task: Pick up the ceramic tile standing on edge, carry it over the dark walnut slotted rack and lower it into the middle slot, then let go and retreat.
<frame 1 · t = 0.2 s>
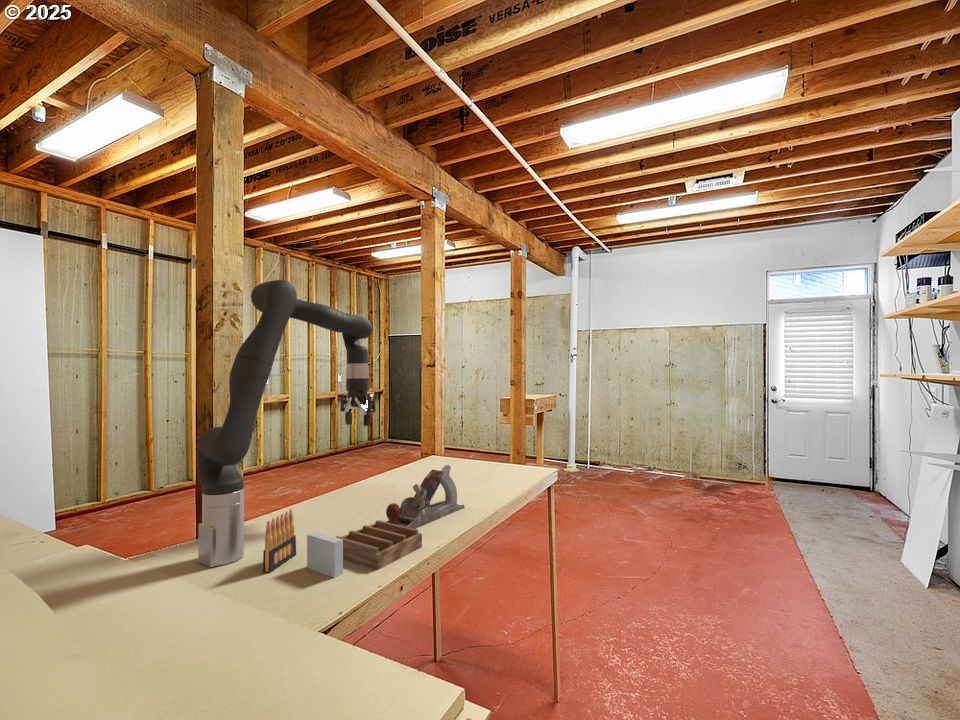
hand: (357, 425, 153), 29 cm above the table, fingers open, 8 cm apart
hand plane: (423, 519, 144), on the table
tile: (324, 571, 107), on the table
ammunition clip: (280, 564, 112), on the table
rack: (377, 550, 119), on the table
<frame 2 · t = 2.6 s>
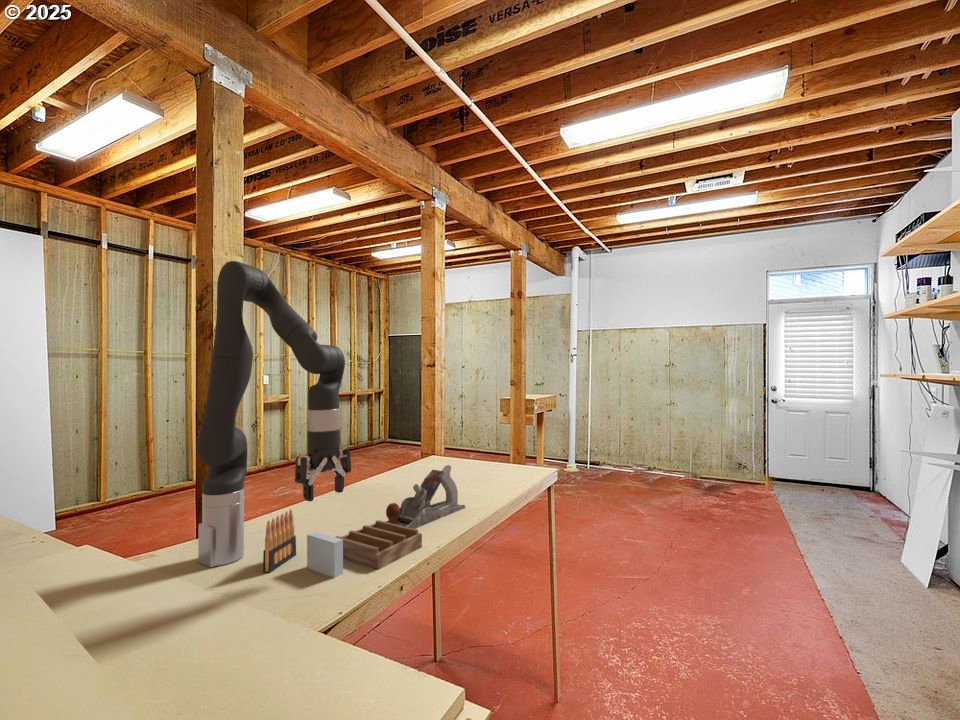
hand: (324, 496, 108), 18 cm above the table, fingers open, 8 cm apart
nothing on the table moved.
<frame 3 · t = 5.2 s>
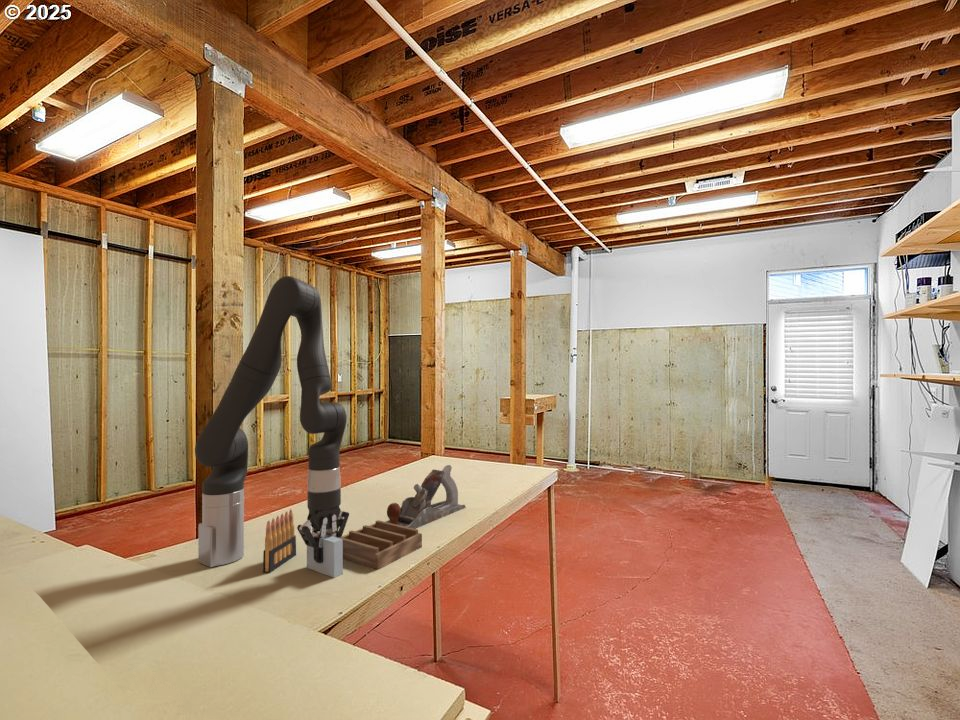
hand: (324, 559, 107), 3 cm above the table, fingers closed on tile, 2 cm apart
tile: (324, 570, 107), on the table, touching gripper
everything else where it was.
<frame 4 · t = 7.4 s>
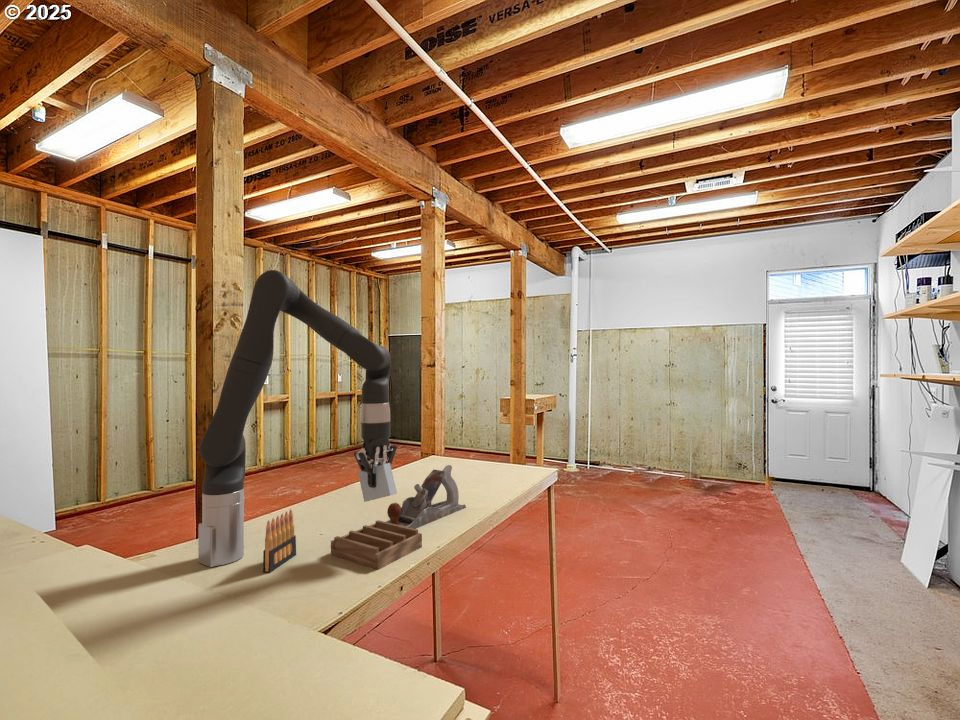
hand: (376, 485, 119), 17 cm above the table, fingers closed on tile
tile: (380, 497, 118), point 14 cm above the table, tilted 18°, touching gripper
everything else where it was.
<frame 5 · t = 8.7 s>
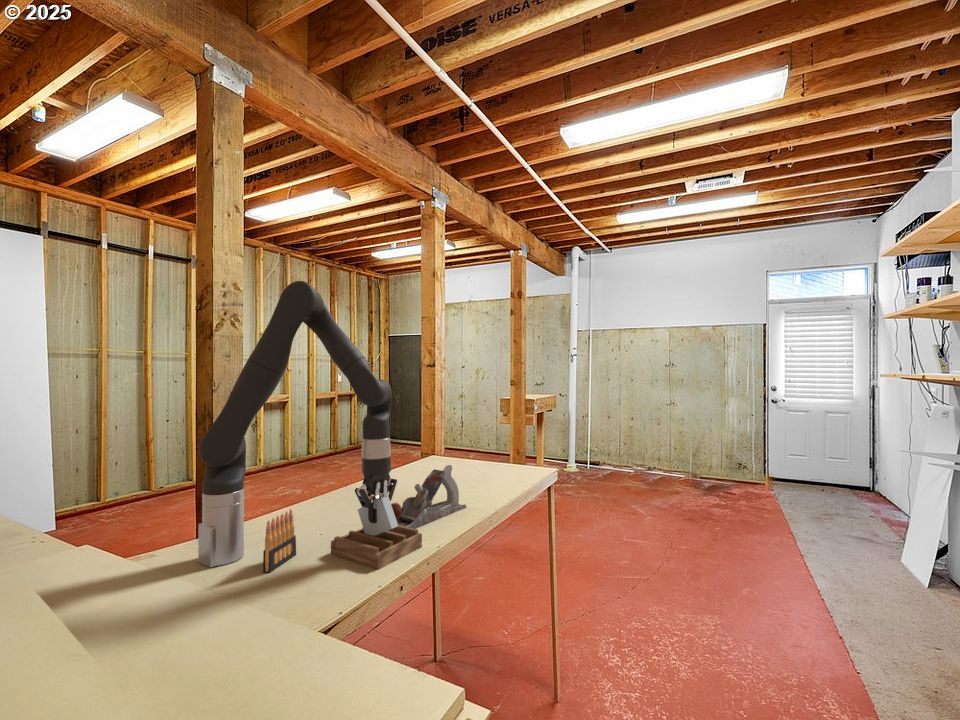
hand: (377, 520, 119), 8 cm above the table, fingers closed on tile
tile: (382, 532, 118), point 5 cm above the table, tilted 25°, touching gripper
everything else where it was.
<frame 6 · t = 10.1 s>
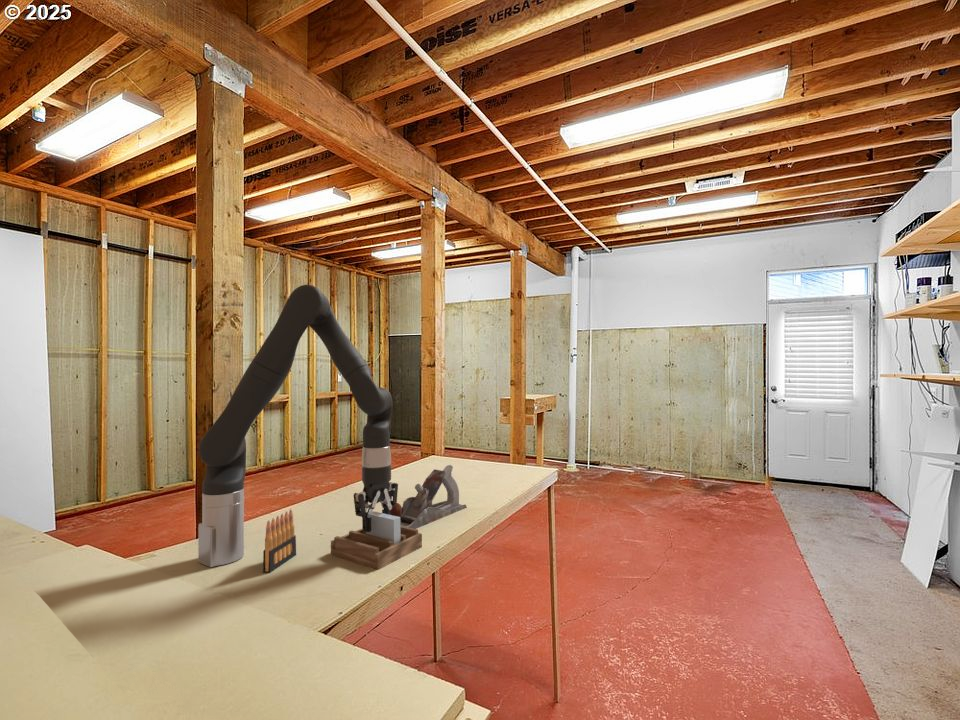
hand: (377, 527, 119), 6 cm above the table, fingers open, 6 cm apart
tile: (383, 546, 118), point 1 cm above the table, touching rack
everything else where it was.
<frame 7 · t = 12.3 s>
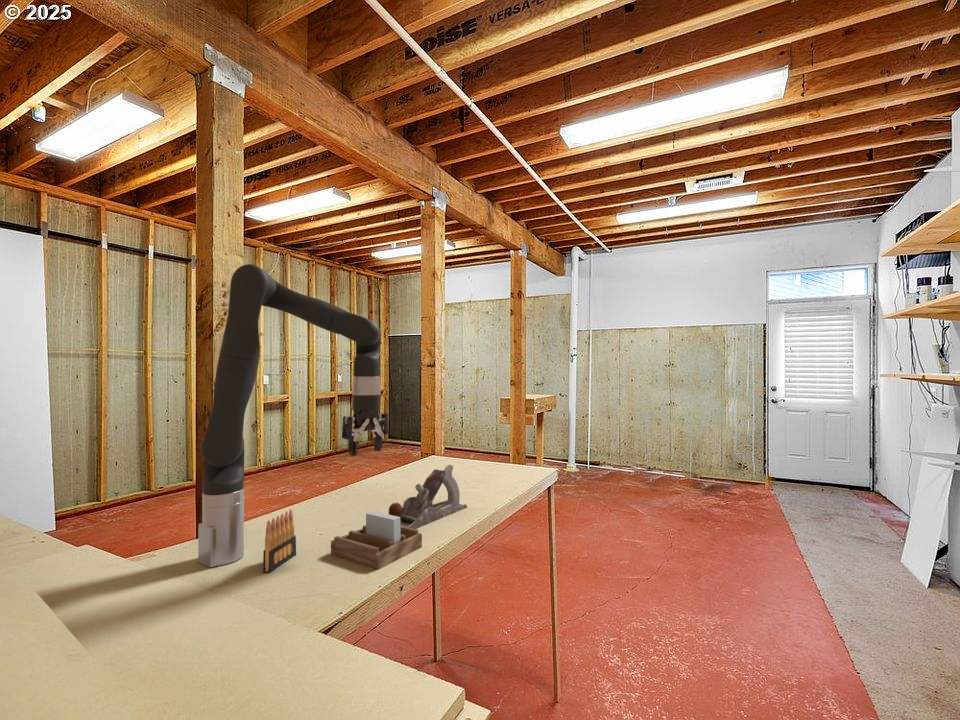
hand: (365, 453, 123), 25 cm above the table, fingers open, 8 cm apart
nothing on the table moved.
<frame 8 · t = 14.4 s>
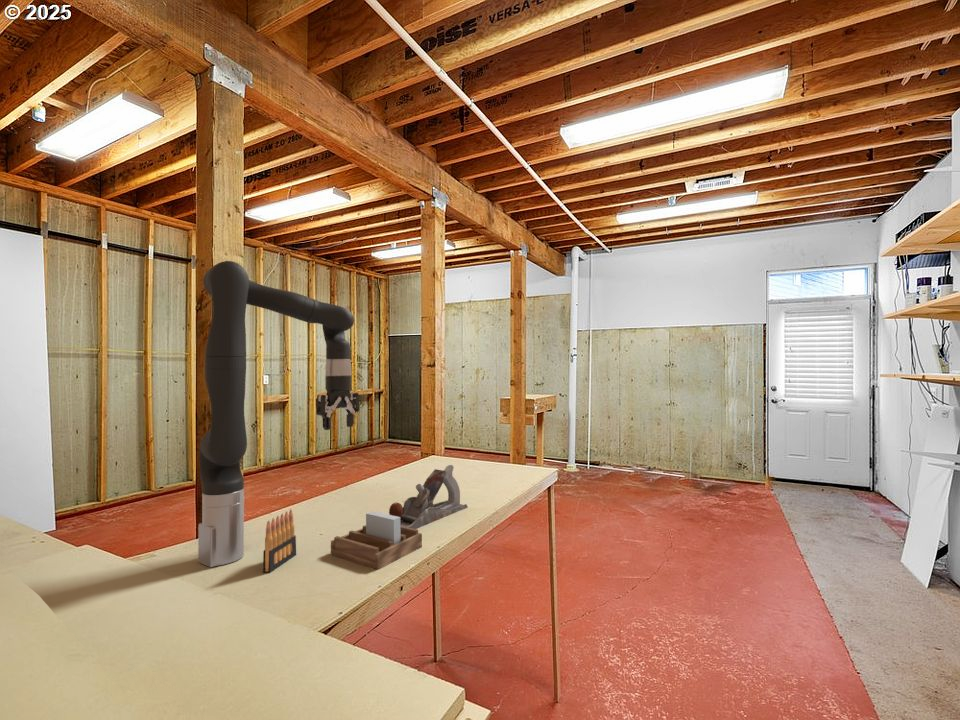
hand: (338, 428, 136), 30 cm above the table, fingers open, 8 cm apart
nothing on the table moved.
at the end: tile inside the target area on the rack (2.0 cm from its centre), point 1.5 cm above the rack's base; tile tilted 0°; the gripper is holding nothing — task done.
